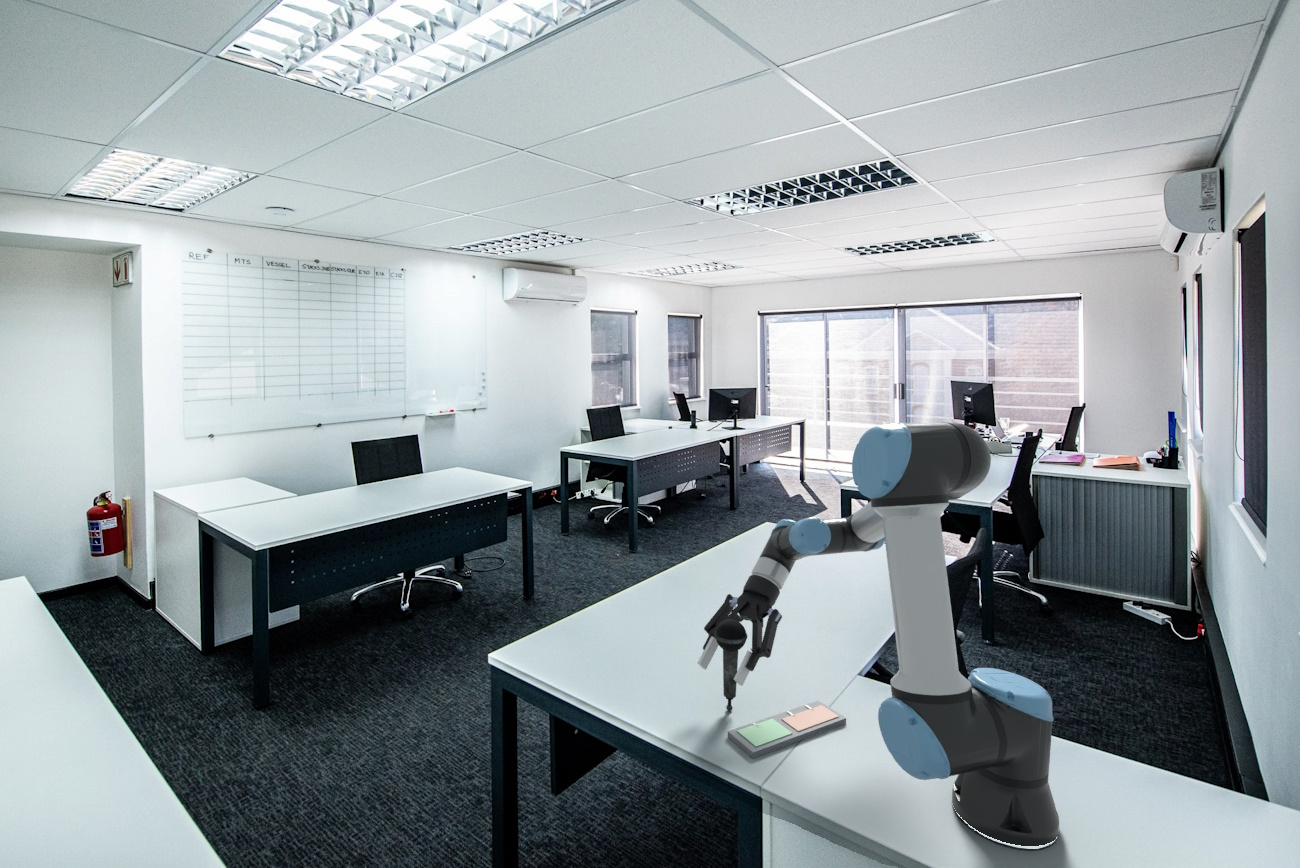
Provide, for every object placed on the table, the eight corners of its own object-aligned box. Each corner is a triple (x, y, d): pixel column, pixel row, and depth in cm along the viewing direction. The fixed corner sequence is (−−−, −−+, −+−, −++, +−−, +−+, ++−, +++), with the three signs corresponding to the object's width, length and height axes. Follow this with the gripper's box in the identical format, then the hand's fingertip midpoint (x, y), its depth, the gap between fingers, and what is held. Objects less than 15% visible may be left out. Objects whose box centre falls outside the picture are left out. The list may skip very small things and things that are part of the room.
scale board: (846, 723, 129) (846, 717, 129) (752, 758, 118) (753, 751, 118) (818, 705, 136) (818, 699, 136) (727, 736, 125) (727, 730, 125)
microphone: (744, 703, 138) (746, 614, 135) (746, 720, 131) (748, 628, 129) (713, 701, 138) (714, 613, 136) (713, 718, 131) (714, 626, 129)
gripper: (814, 603, 135) (769, 701, 126) (734, 580, 151) (689, 665, 141) (801, 585, 131) (754, 685, 122) (720, 563, 147) (672, 649, 137)
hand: (719, 674), depth 131 cm, fingers open, 9 cm apart
